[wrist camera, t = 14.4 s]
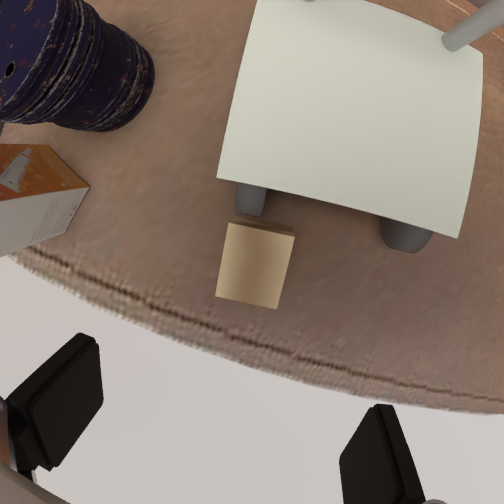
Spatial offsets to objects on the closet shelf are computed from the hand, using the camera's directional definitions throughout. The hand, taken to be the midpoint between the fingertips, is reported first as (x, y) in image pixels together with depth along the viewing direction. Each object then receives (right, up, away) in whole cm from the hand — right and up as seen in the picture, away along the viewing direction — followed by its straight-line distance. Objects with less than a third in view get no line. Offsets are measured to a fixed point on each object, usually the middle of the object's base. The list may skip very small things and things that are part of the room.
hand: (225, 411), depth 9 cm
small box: (-20, +12, +19) cm, 30 cm away
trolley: (+9, +16, +15) cm, 24 cm away
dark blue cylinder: (-13, +21, +15) cm, 29 cm away
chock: (+1, +5, +19) cm, 19 cm away
